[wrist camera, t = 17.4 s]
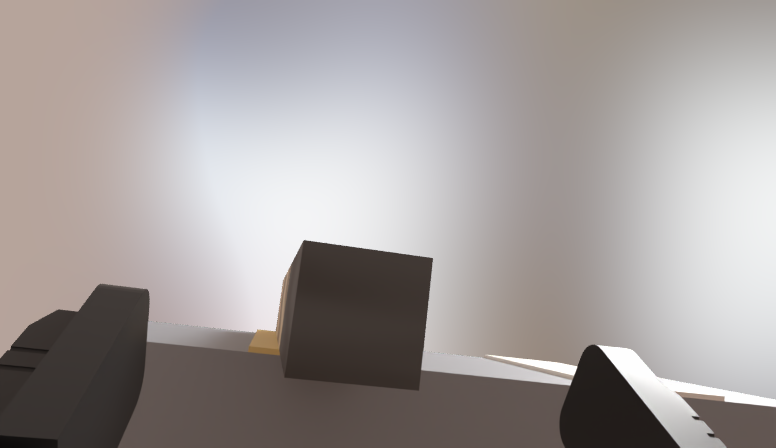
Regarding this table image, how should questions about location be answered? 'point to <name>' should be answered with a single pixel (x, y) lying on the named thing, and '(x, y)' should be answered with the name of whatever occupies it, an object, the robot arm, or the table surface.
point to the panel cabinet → (375, 401)
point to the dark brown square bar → (354, 316)
